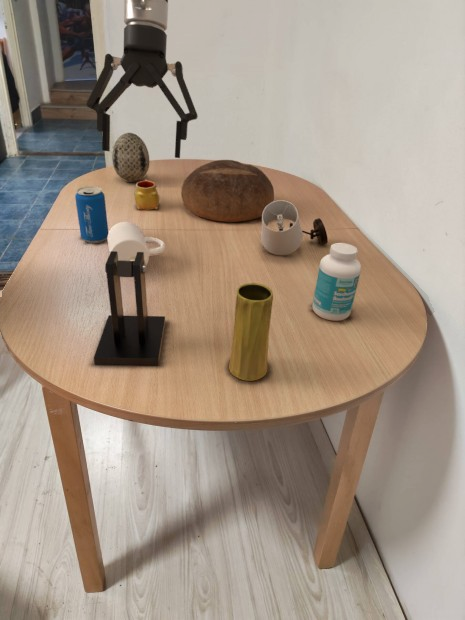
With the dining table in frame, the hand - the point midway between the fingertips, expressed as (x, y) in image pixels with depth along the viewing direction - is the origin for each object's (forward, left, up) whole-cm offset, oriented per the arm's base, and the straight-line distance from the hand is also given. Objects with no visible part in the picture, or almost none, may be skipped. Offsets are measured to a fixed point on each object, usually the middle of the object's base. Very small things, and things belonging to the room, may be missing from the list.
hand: (141, 154), depth 87 cm
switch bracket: (+6, -27, -24) cm, 37 cm away
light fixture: (+32, +16, -24) cm, 43 cm away
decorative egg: (-22, +57, -24) cm, 66 cm away
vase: (+26, -30, -24) cm, 46 cm away
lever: (+5, -23, -14) cm, 28 cm away
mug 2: (-11, +38, -24) cm, 46 cm away
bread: (+12, +41, -24) cm, 49 cm away
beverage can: (-16, +11, -24) cm, 31 cm away
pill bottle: (+40, -10, -24) cm, 47 cm away
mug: (-2, +1, -24) cm, 24 cm away
